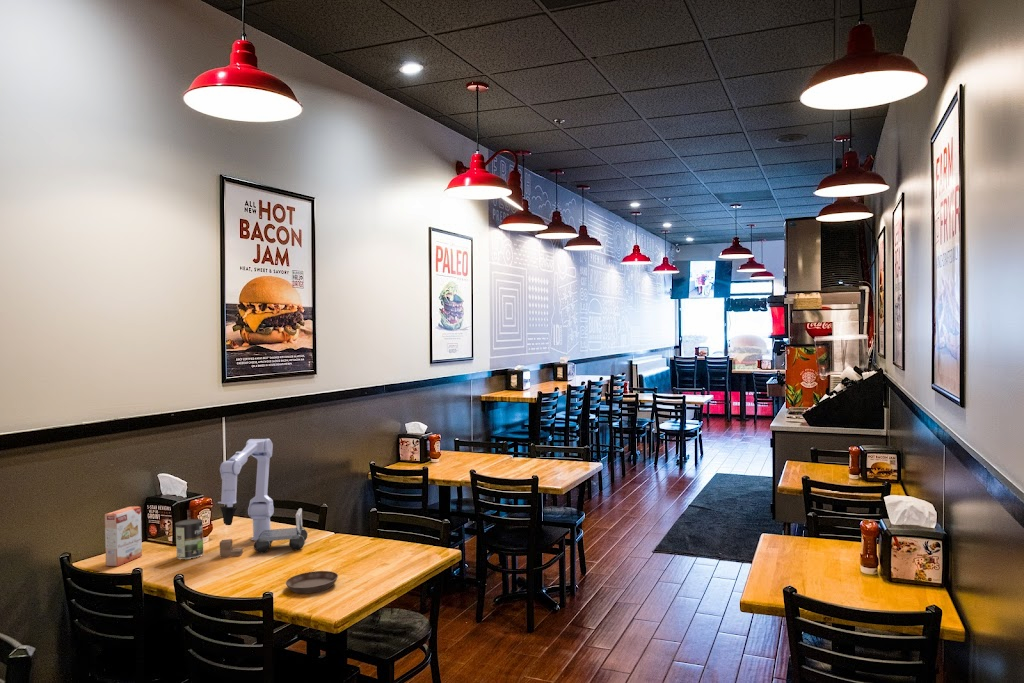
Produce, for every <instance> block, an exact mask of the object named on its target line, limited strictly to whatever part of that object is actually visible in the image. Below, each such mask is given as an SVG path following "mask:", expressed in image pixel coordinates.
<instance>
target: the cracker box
mask: <svg viewBox="0 0 1024 683" xmlns="http://www.w3.org/2000/svg"><path fill="white" fill-rule="evenodd" d="M142 536H143V535H142V507H141V506H126V507H124V508H120V509H117V510H114V511H112V512H111V511H110V512H108V513H107V512H106V513H105V514H104V540H105V542H104V544H105V545H104V546H105V548H104V549H105V567H120V566H122V565H124V563H125V564H127V563H129V562H132V561H134V560H136V559H135V558H137V559H139V558H141V557H140V556H143V545H142V540H143V539H142ZM138 557H139V558H138ZM133 559H134V560H133ZM131 560H132V561H131Z"/></svg>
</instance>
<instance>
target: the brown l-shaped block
mask: <svg viewBox="0 0 1024 683" xmlns="http://www.w3.org/2000/svg"><path fill="white" fill-rule="evenodd" d="M243 549H244V548H243V547H240V548H237V547H236V548H233V539H232V538H229V539H227V538H226V539H221V541H220V542H219V558H220V557H221V558H230V557H229V556H233V557H241V556H242V555H243V553H244V550H243Z"/></svg>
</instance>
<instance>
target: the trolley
mask: <svg viewBox="0 0 1024 683" xmlns="http://www.w3.org/2000/svg"><path fill="white" fill-rule="evenodd" d="M295 525H296V526H295V527H290V528H288V527H287V528H278V529H276V528H275V529H271V530H264V531H263V532H262V533H261V534H260V536H259V538H258V539H257V540H255V542H254V544H253V549H254V550H255V552H256V553H258V554H263V553H266V552H267V551H268V550H269V548H270V546H271V545H272V543H273V542H274V541H285V540H286V541H287V540H289V543H288V544H289V547H290V549H292V550H293V551H299V550H301V549H303V548H304V545H305V542H306V540H307V538H308V531H307V530H306V529H305V528H304V527H303V508H301V507H300V508H298V510H297V511H296V514H295Z"/></svg>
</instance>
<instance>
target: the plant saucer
mask: <svg viewBox="0 0 1024 683" xmlns="http://www.w3.org/2000/svg"><path fill="white" fill-rule="evenodd" d="M338 577H339V575H338V573H336V572H335V571H328V570H318V571H317V570H316V571H308V572H304V573H299V574H297V575H293V576H291V577H289V578H287V580H285V585H286V586H287V588H288V589H289V590H290V591H291V592H293V593H297V594H315V593H319V592H320V593H321V592H323V591H326V590H328V589H330V588H331V587H333V585H335V583H336V581H337V579H338Z"/></svg>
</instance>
